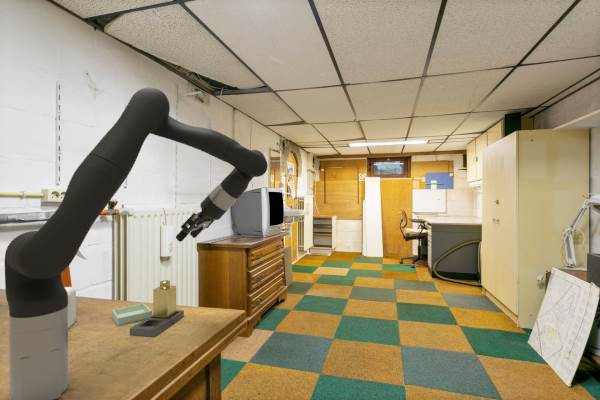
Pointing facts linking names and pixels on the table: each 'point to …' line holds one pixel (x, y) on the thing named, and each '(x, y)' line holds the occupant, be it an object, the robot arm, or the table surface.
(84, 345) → the table surface
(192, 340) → the table surface
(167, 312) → the gold perfume bottle
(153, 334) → the grey metal holder frame
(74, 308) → the photo printer
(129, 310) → the parts tray
